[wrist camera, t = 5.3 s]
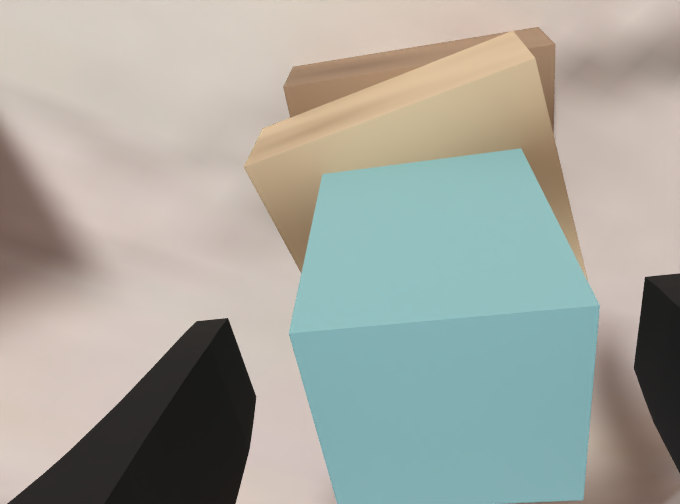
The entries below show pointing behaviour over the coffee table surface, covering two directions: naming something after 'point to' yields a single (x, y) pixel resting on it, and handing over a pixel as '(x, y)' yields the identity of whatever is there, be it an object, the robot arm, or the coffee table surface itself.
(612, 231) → the coffee table surface
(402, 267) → the teal block
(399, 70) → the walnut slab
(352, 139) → the oak slab
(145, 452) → the robot arm
